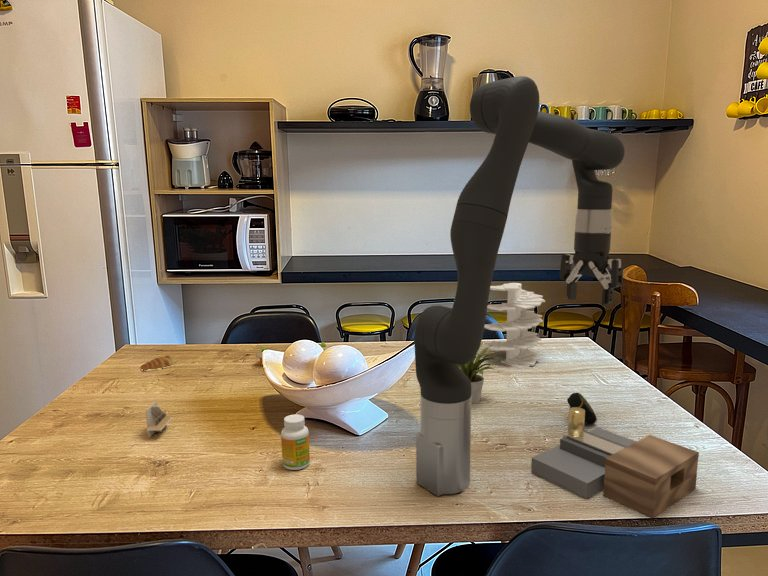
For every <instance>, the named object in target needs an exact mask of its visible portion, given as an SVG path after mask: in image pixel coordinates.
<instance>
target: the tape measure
mask: <svg viewBox="0 0 768 576" xmlns="http://www.w3.org/2000/svg"><path fill="white" fill-rule="evenodd" d="M567 403H568V405H569V408H572V407H578V408H582V409H584V410H585V421H584V424H587V425H594V424H595V423H596V422H598V421H597V420H598V418H597V415H596V413H595V412H594V409H593V408H592V406H591V405H590V403H589V402H588V400H587V399H586V398H585V397H584V395H582V394H581V393H580V392H573V393H571V394H570V395H569V397H567ZM569 408H568V409H569Z"/></svg>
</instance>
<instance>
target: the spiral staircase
mask: <svg viewBox="0 0 768 576" xmlns="http://www.w3.org/2000/svg"><path fill="white" fill-rule="evenodd" d="M522 286H523V285H522V283H520V282H508V283H503V284H501V285H491V286H490V291H491V290H492V291H499V292H500V291H501V292H502V291H503V292H507V302H501V304H500V303H498V304H489V303H488V305H487V310H494V311H500V312H502V311H506V321H504V322H499V323H495V322H493V323H488V324H487V323H485V326H484V329H485V330H489V331H497V332H506V340H505V341H501V340H500V341H495V340H492V341H489V342H488V341H484V342H483V344H482V345H481V346H482V347H483V348H484V349H485V348H486V347H488V346H491V345H492V346H491V347H490V348H488V349H487V350H492V351H496V352H502V351H505V354H506V355H505V359H504V360H501V361H500V363H502V364H505V365H508V366H511V367H513V368H516V369H518V368H519V369H518V370H522V369H523V368H524V369H526V367H527V368H530V367H531V366H533V367H534V365H536V363H537V361H541V359H540V358H539V357H538V356H537V355H538V352H537V351H533V350H530V349H532V348H533V347H537V345H538V343H539V341H540V342H541V341H542V338H540V337H539V336H538V333H537V332H533V331H528V330H529V329H532V328H536V327H537V326H539V325H540V323H544V320H543V319H542V318H543V315H542V314H538V313H535V311H534V310H530V309H535V308H536V307H540V306H541V305H542V303H546V300H545V299H544V298H543V297H544V295H543V294H542V295H540V294H536V293H535V291H528V290H526V289H523V288H522ZM529 366H530V367H529ZM524 369H523V370H524Z"/></svg>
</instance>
